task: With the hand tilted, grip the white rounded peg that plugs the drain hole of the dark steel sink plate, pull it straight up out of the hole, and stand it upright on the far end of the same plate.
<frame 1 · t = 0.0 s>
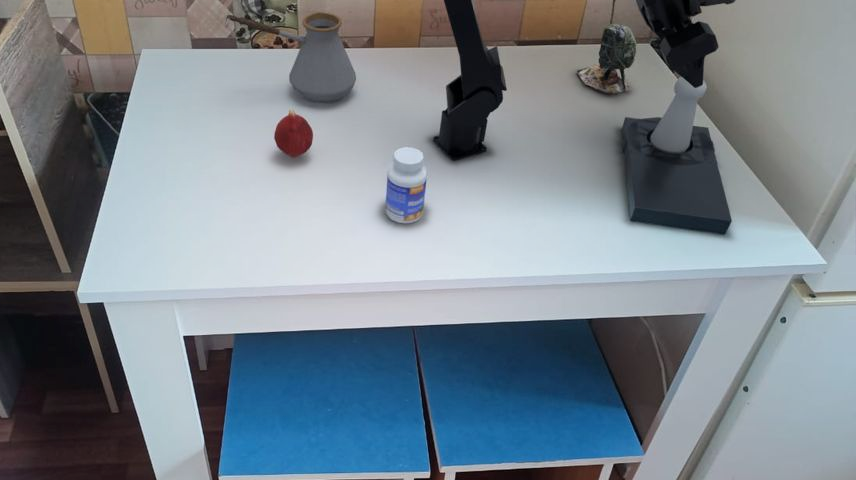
hand: (689, 69, 105), 15 cm above the table, tool tilted 35°, fingers open, 9 cm apart
coffee pot: (294, 95, 126), on the table
pill bottle: (403, 213, 104), on the table
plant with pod: (603, 86, 131), on the table
onion: (294, 157, 113), on the table
sink plate: (668, 178, 112), on the table
white rounded peg: (664, 154, 116), resting in sink plate
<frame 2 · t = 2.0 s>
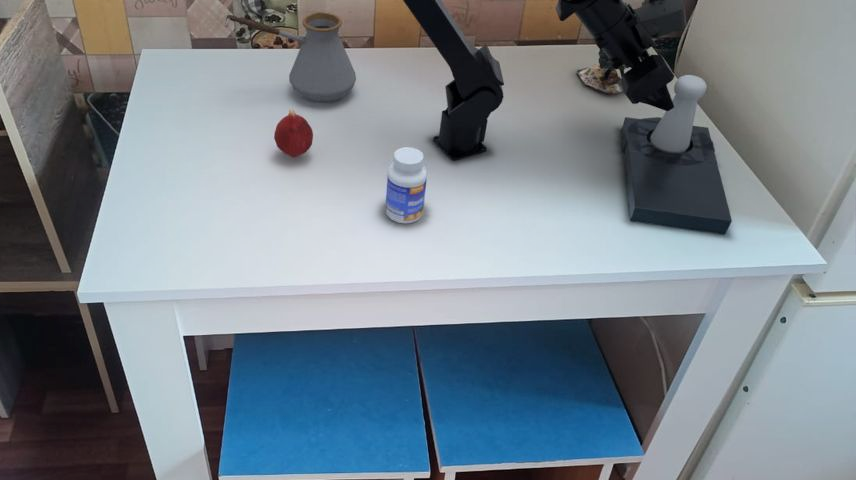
hand: (662, 92, 109), 11 cm above the table, tool tilted 45°, fingers open, 9 cm apart
nothing on the table moved.
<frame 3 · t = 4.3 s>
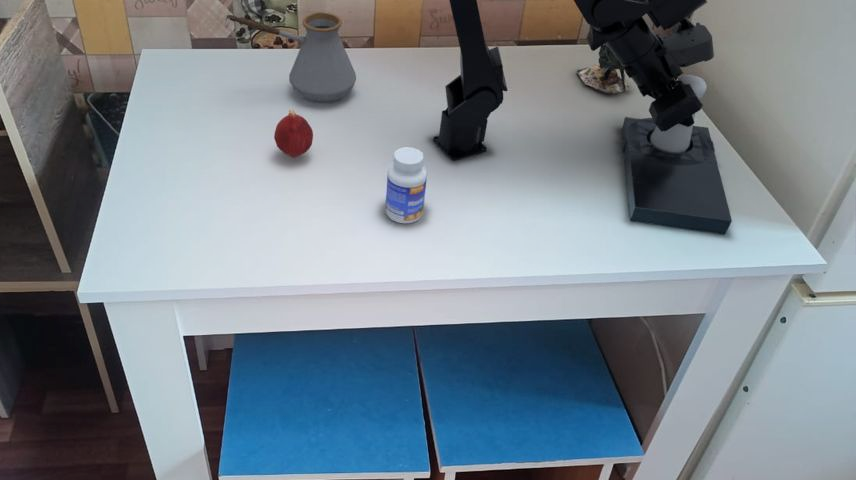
hand: (687, 118, 112), 7 cm above the table, tool tilted 45°, fingers closed on white rounded peg, 3 cm apart
white rounded peg: (664, 154, 116), resting in sink plate, touching gripper
everything else where it was.
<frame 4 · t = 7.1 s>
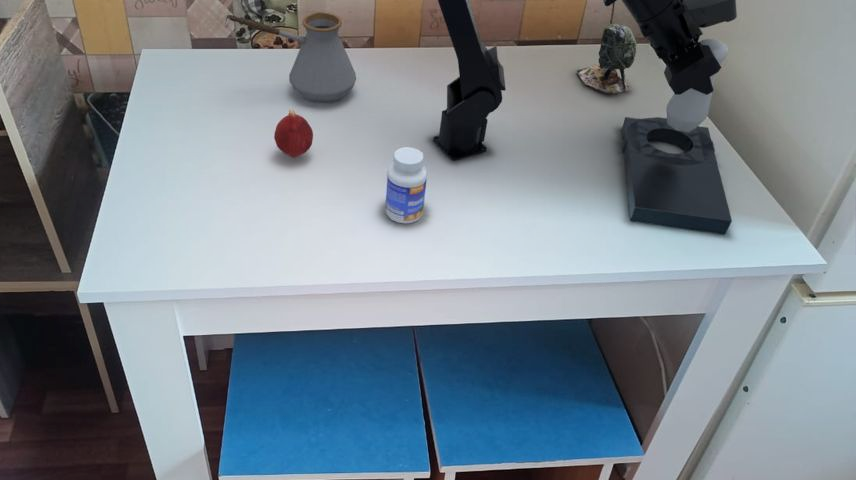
hand: (706, 86, 105), 13 cm above the table, tool tilted 45°, fingers closed on white rounded peg, 3 cm apart
white rounded peg: (680, 125, 110), point 6 cm above the table, touching gripper
everything else where it was.
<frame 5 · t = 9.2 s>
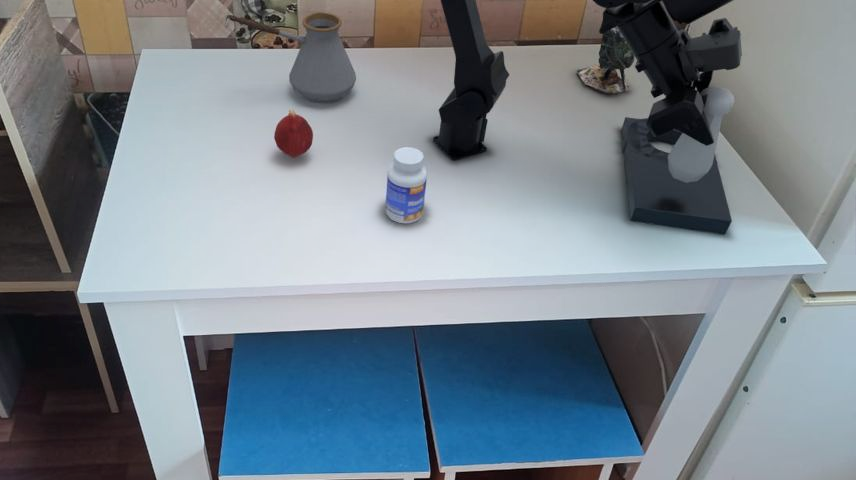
hand: (711, 137, 98), 12 cm above the table, tool tilted 45°, fingers closed on white rounded peg, 3 cm apart
white rounded peg: (683, 175, 103), point 5 cm above the table, touching gripper
everything else where it was.
when the fingers open (9 cm above the table, at t = 10.4 s): white rounded peg stays where it is, resting on sink plate.
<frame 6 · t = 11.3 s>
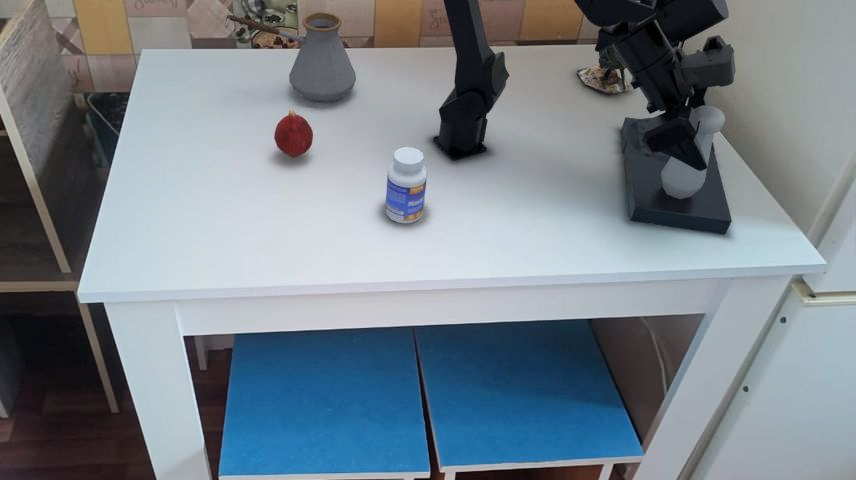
hand: (707, 151, 100), 10 cm above the table, tool tilted 45°, fingers open, 9 cm apart
white rounded peg: (676, 191, 105), point 2 cm above the table, touching sink plate
everything else where it was.
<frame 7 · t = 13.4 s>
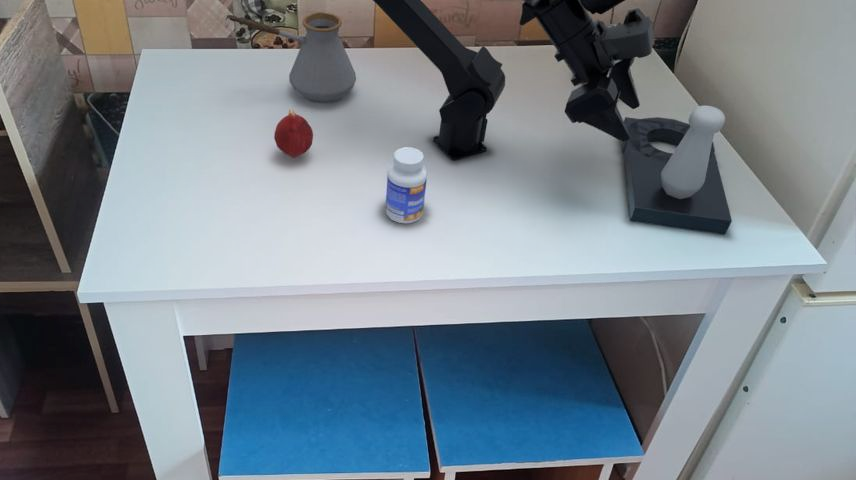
hand: (631, 123, 102), 11 cm above the table, tool tilted 45°, fingers open, 9 cm apart
nothing on the table moved.
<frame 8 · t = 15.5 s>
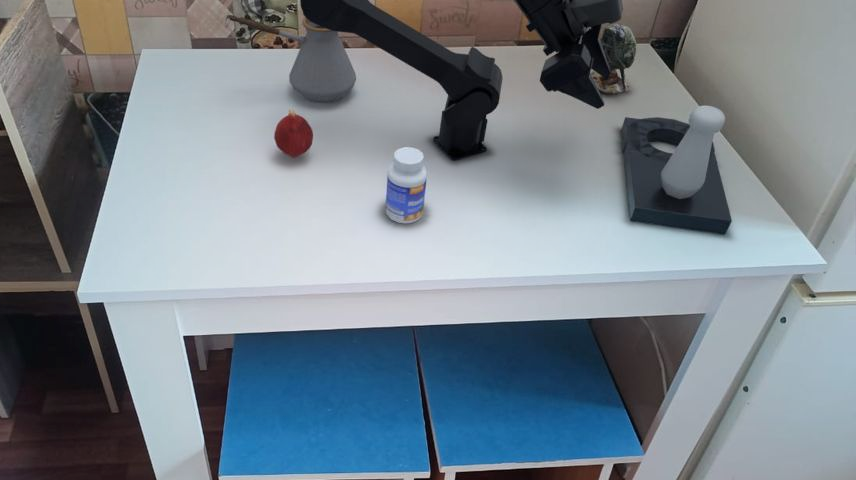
hand: (604, 90, 103), 14 cm above the table, tool tilted 45°, fingers open, 9 cm apart
nothing on the table moved.
at the end: white rounded peg inside the target area (0.3 cm from its centre), point 2.3 cm above the table; white rounded peg tilted 0°; the gripper is holding nothing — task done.
